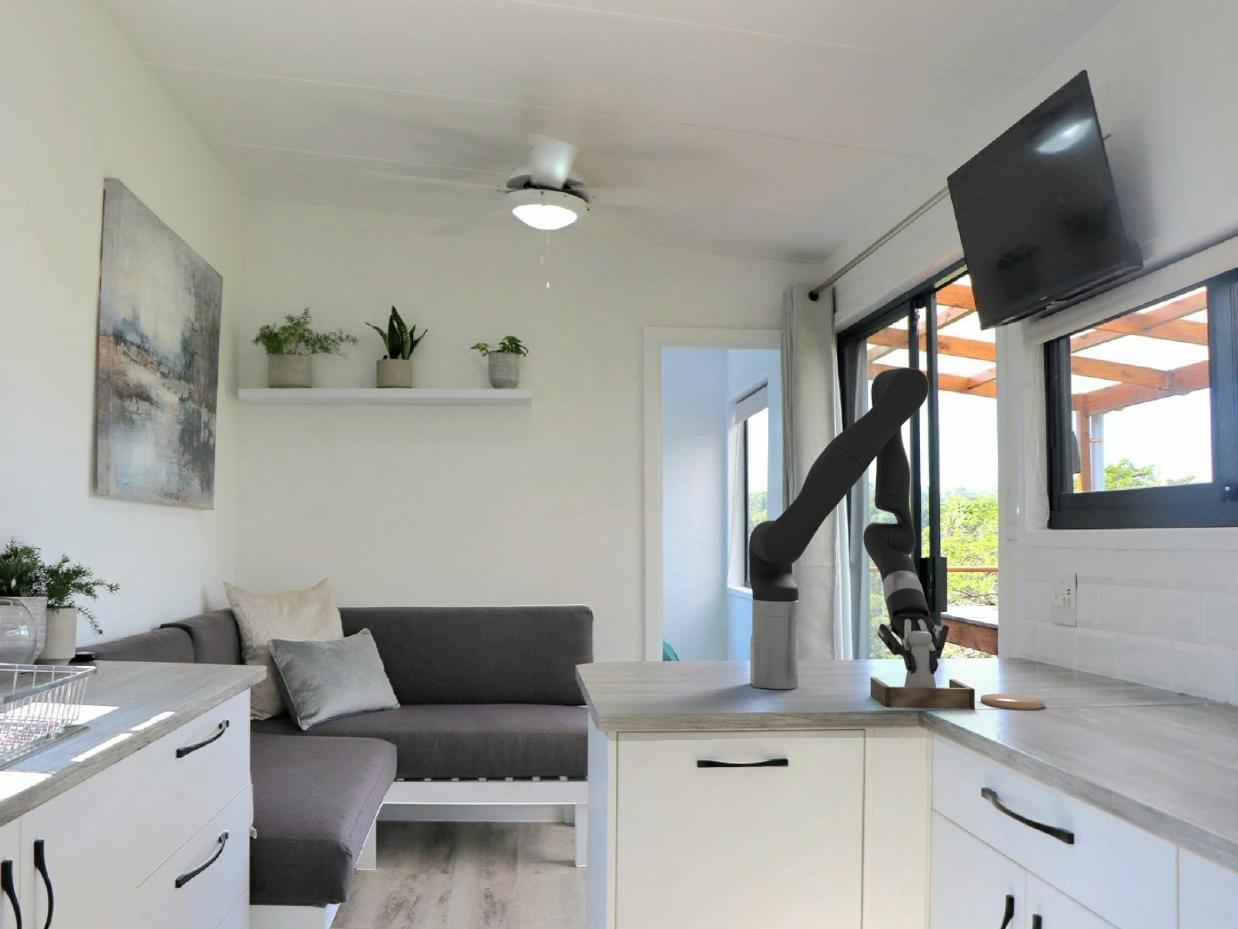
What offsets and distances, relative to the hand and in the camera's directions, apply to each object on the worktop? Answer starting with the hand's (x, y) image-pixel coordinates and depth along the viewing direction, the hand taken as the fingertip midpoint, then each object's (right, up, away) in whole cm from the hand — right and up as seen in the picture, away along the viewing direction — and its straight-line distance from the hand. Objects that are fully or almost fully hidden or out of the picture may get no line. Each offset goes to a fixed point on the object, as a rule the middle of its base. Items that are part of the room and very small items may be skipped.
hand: (923, 671), depth 175 cm
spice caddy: (0, -6, +2) cm, 6 cm away
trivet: (+17, -6, +1) cm, 18 cm away
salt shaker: (0, -6, +2) cm, 6 cm away
